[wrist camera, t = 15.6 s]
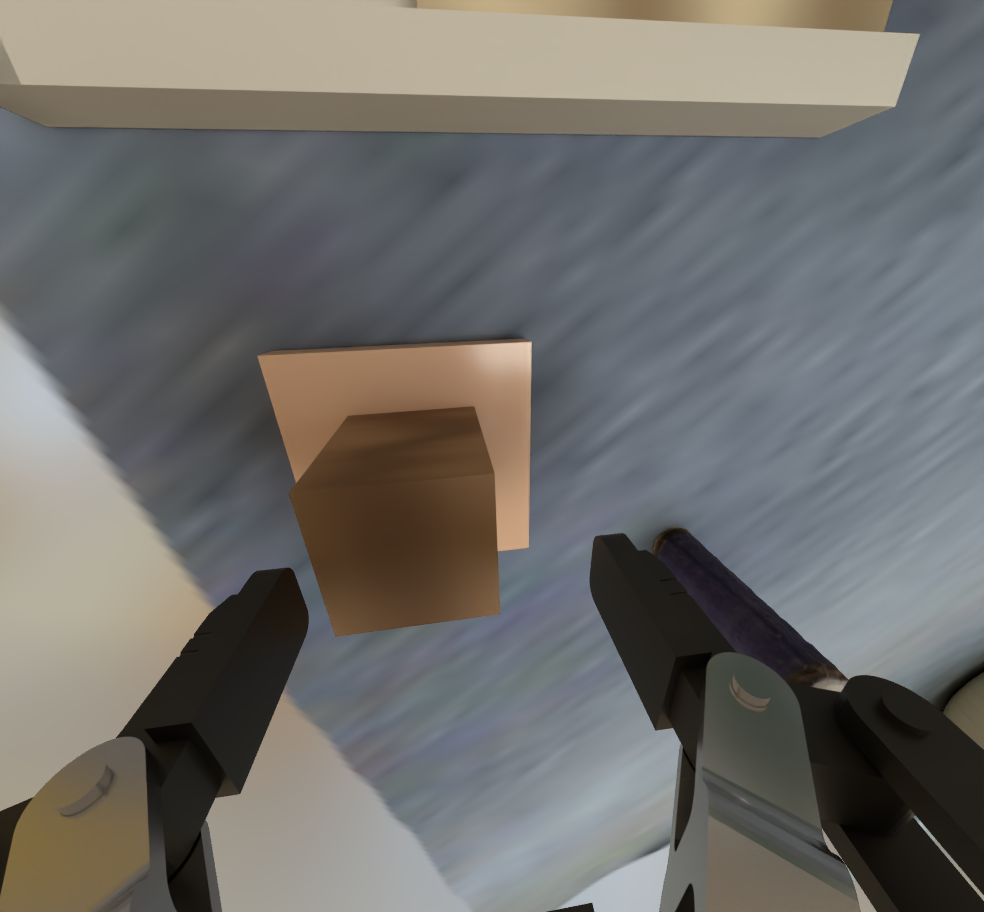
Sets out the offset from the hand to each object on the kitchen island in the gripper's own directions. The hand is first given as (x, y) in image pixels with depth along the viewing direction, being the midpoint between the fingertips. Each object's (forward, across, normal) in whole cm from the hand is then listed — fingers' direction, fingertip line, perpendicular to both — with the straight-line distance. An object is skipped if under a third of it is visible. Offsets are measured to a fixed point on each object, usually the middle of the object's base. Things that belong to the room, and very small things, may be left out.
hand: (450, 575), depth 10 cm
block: (+6, +1, 0) cm, 7 cm away
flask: (+8, -14, +10) cm, 19 cm away
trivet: (+8, +1, 0) cm, 8 cm away
